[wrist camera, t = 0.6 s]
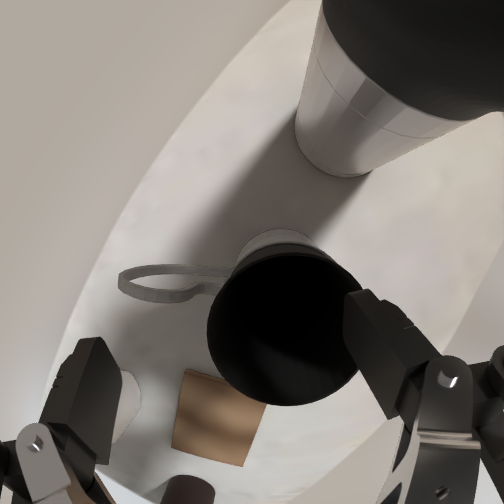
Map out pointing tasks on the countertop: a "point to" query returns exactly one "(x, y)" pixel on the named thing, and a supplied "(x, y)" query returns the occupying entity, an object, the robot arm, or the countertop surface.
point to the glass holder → (270, 317)
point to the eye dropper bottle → (126, 404)
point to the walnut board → (215, 419)
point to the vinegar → (188, 491)
